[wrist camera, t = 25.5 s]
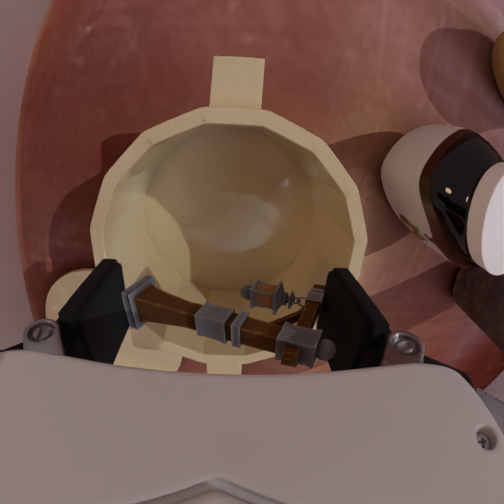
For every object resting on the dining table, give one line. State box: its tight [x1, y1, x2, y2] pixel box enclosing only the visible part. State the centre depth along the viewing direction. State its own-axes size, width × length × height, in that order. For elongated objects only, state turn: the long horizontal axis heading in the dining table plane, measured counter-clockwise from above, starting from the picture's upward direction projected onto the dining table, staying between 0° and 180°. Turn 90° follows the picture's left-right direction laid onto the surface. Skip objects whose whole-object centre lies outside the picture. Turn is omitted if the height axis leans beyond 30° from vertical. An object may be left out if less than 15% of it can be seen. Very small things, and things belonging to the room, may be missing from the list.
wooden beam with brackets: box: [122, 273, 336, 369], centre depth 11 cm, size 2×8×4 cm, turn 91°
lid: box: [45, 268, 182, 372], centre depth 23 cm, size 16×16×7 cm
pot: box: [90, 56, 367, 375], centre depth 18 cm, size 15×20×8 cm
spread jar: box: [380, 124, 504, 275], centre depth 16 cm, size 12×11×12 cm
